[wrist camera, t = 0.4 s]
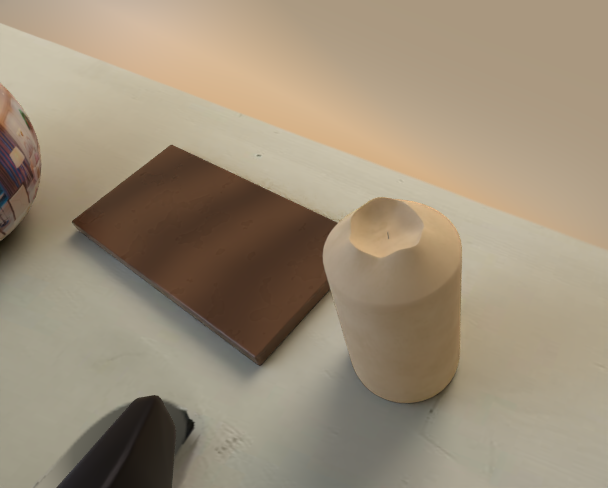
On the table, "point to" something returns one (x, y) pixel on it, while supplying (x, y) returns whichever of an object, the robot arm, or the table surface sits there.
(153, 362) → the table surface
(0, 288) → the table surface
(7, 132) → the ornament
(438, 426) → the table surface
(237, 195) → the walnut board
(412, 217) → the candle
